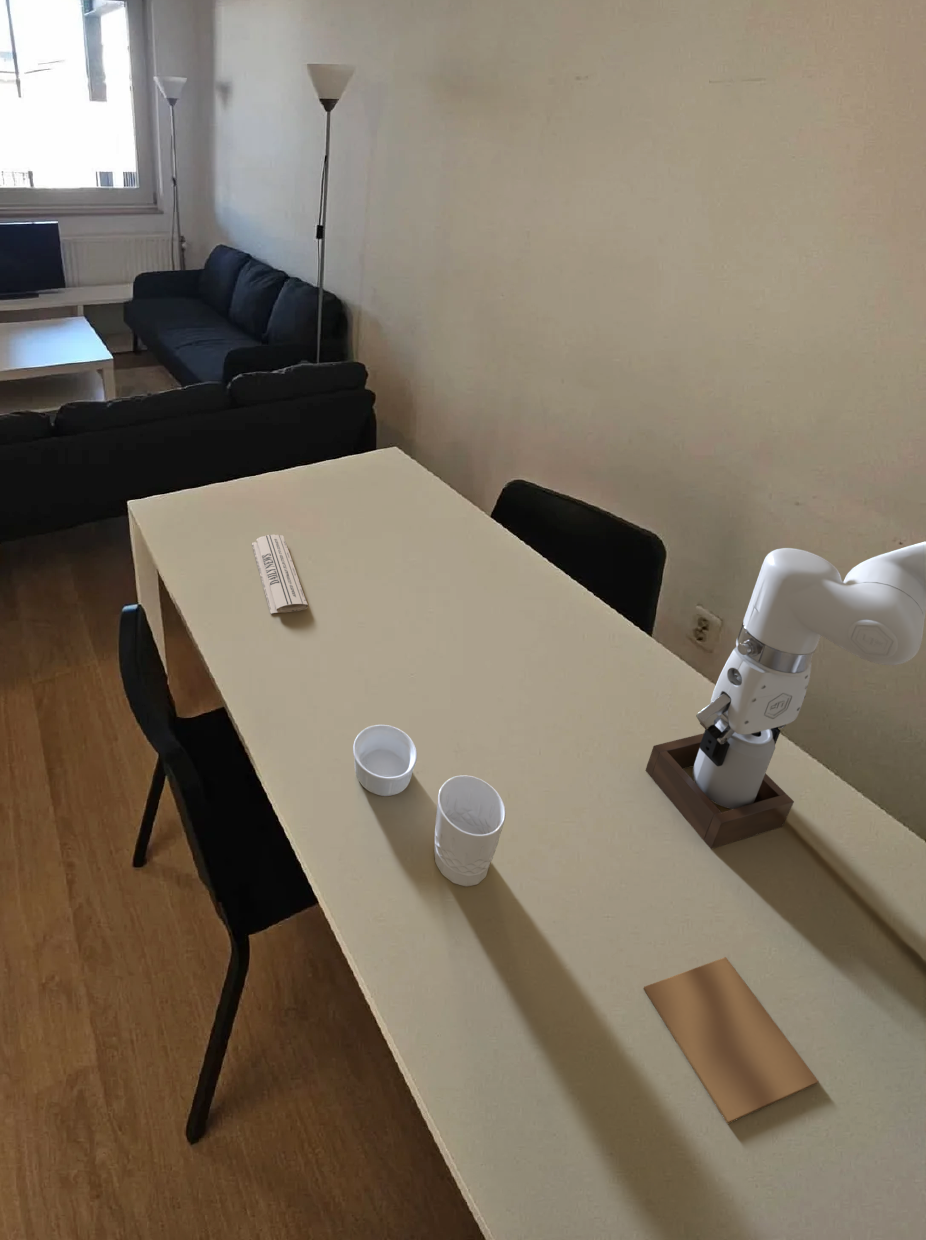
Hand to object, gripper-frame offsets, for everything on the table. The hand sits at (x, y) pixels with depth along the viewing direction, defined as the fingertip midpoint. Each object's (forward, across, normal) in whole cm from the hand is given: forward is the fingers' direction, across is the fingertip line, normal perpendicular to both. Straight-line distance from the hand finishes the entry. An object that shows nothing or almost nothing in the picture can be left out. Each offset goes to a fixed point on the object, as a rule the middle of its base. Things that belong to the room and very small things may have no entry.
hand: (735, 749), depth 88 cm
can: (+8, 0, 0) cm, 8 cm away
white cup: (+9, -38, +2) cm, 40 cm away
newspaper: (+8, -47, +64) cm, 80 cm away
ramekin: (+9, -43, +16) cm, 47 cm away
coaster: (+10, -20, -21) cm, 31 cm away
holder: (+10, 0, +1) cm, 10 cm away
